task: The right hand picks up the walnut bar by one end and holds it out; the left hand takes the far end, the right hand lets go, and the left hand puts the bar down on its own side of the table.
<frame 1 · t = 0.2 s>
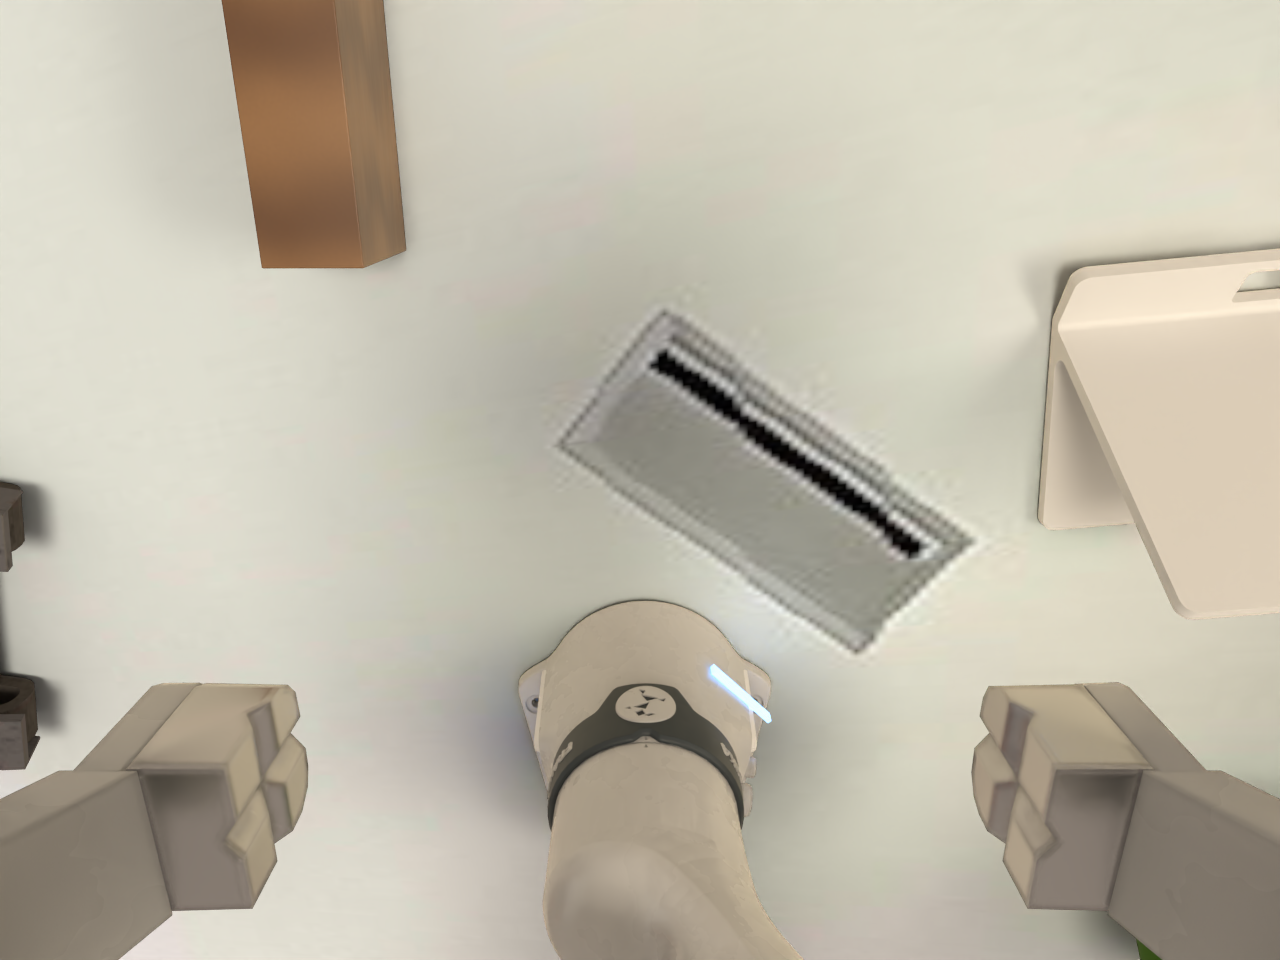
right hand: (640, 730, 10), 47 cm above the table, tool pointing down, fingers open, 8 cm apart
bar: (341, 56, 50), on the table
tablet stand: (1235, 384, 57), on the table
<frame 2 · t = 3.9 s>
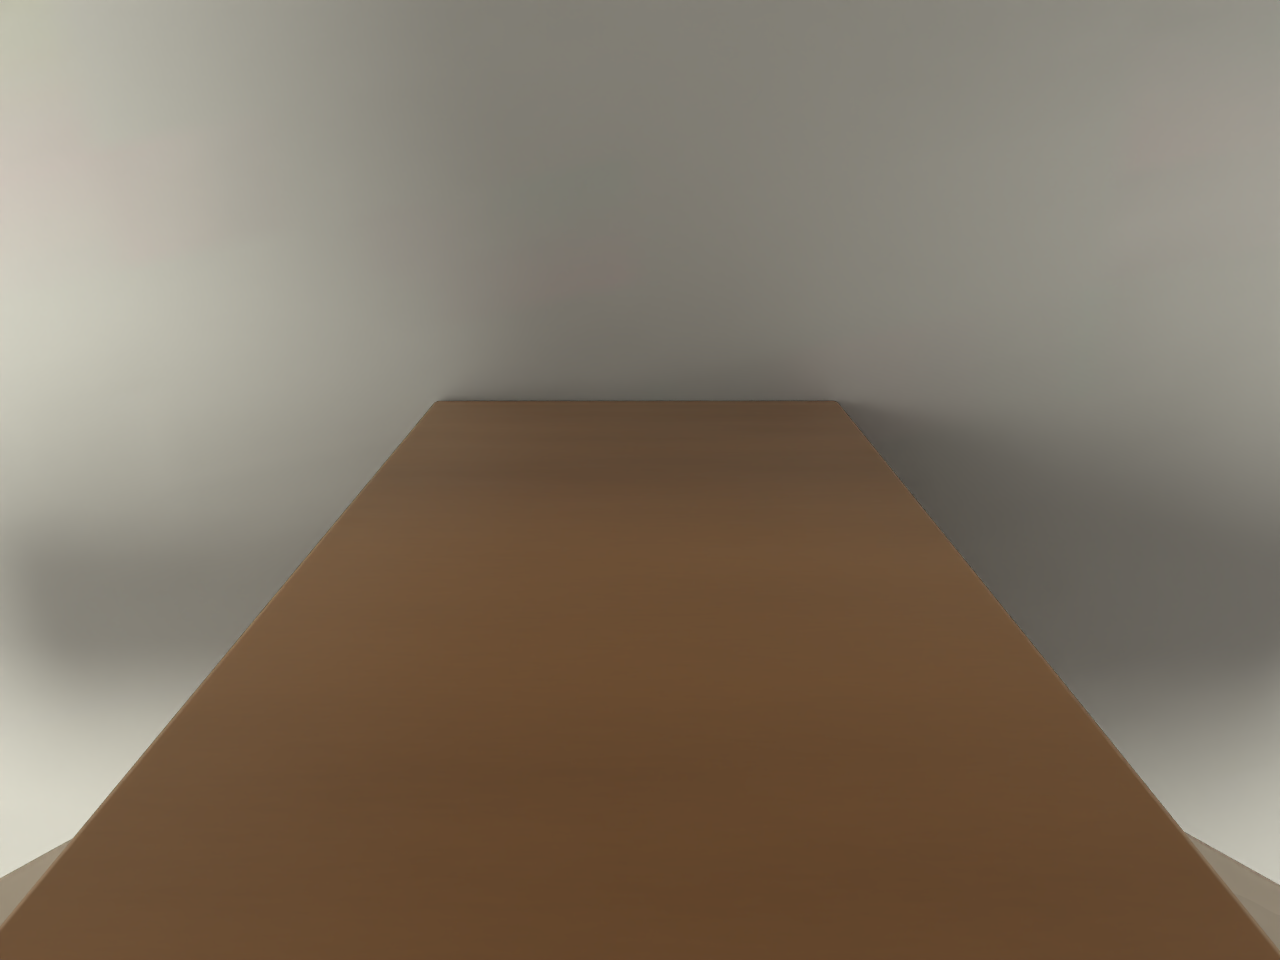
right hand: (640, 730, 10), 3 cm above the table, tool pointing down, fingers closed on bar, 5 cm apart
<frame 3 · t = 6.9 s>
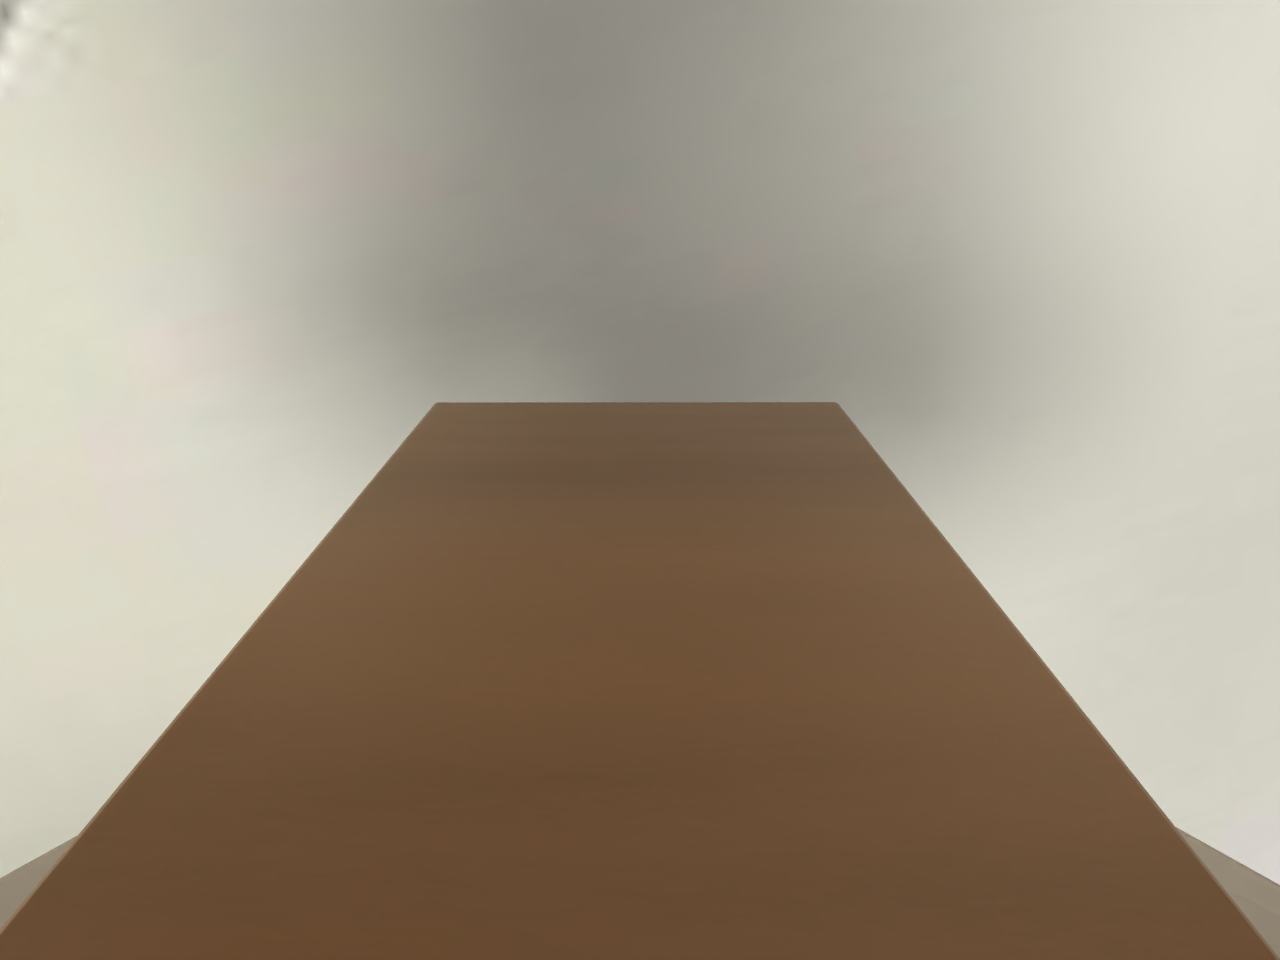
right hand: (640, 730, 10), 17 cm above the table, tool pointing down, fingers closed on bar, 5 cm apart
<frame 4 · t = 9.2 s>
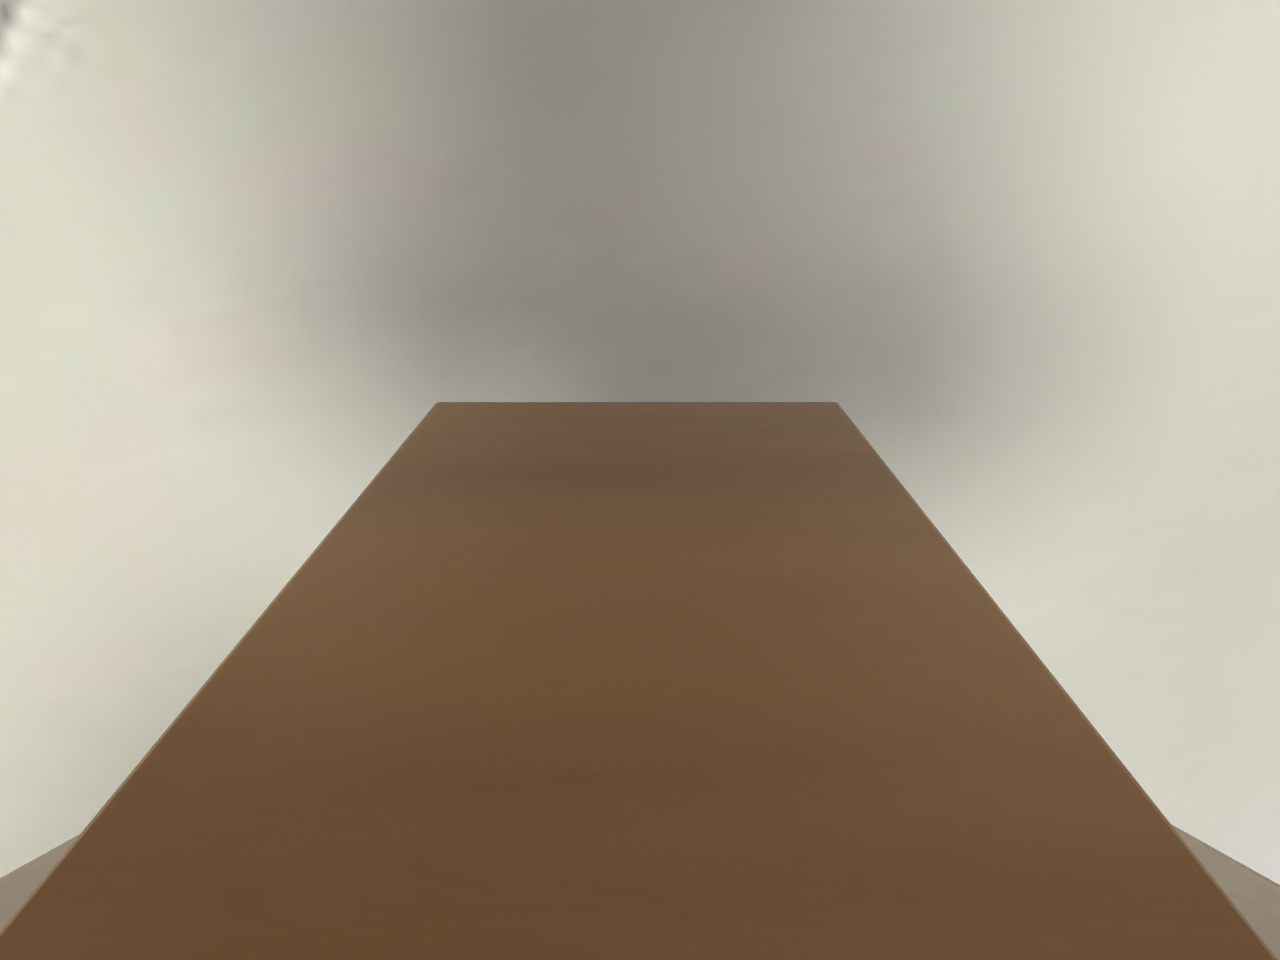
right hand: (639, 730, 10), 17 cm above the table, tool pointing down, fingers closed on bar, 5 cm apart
when the right hand's fingers open (17 cm above the table, at t = 10.2 s): bar moves 1 cm, held by the left hand.
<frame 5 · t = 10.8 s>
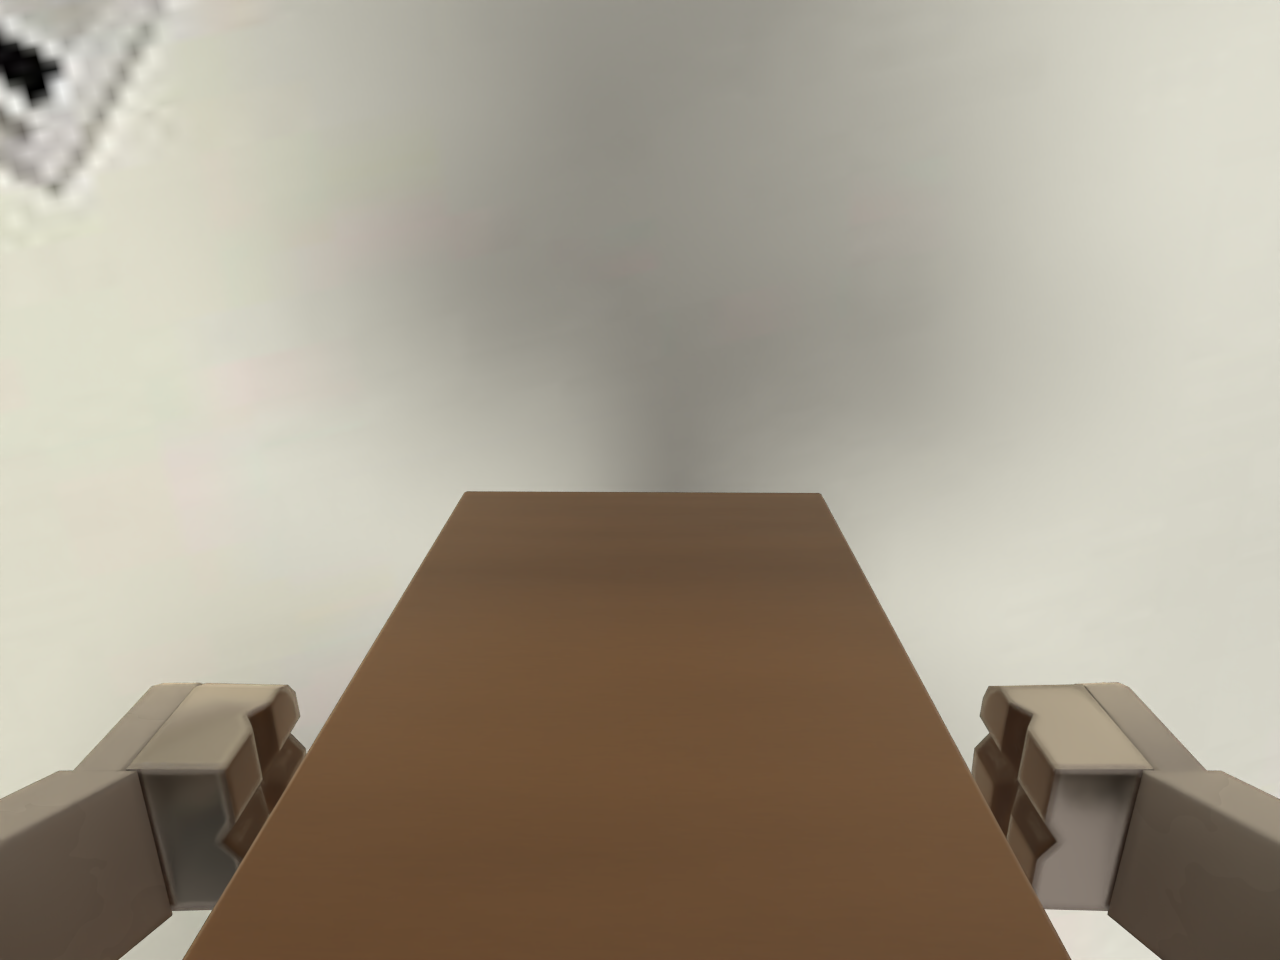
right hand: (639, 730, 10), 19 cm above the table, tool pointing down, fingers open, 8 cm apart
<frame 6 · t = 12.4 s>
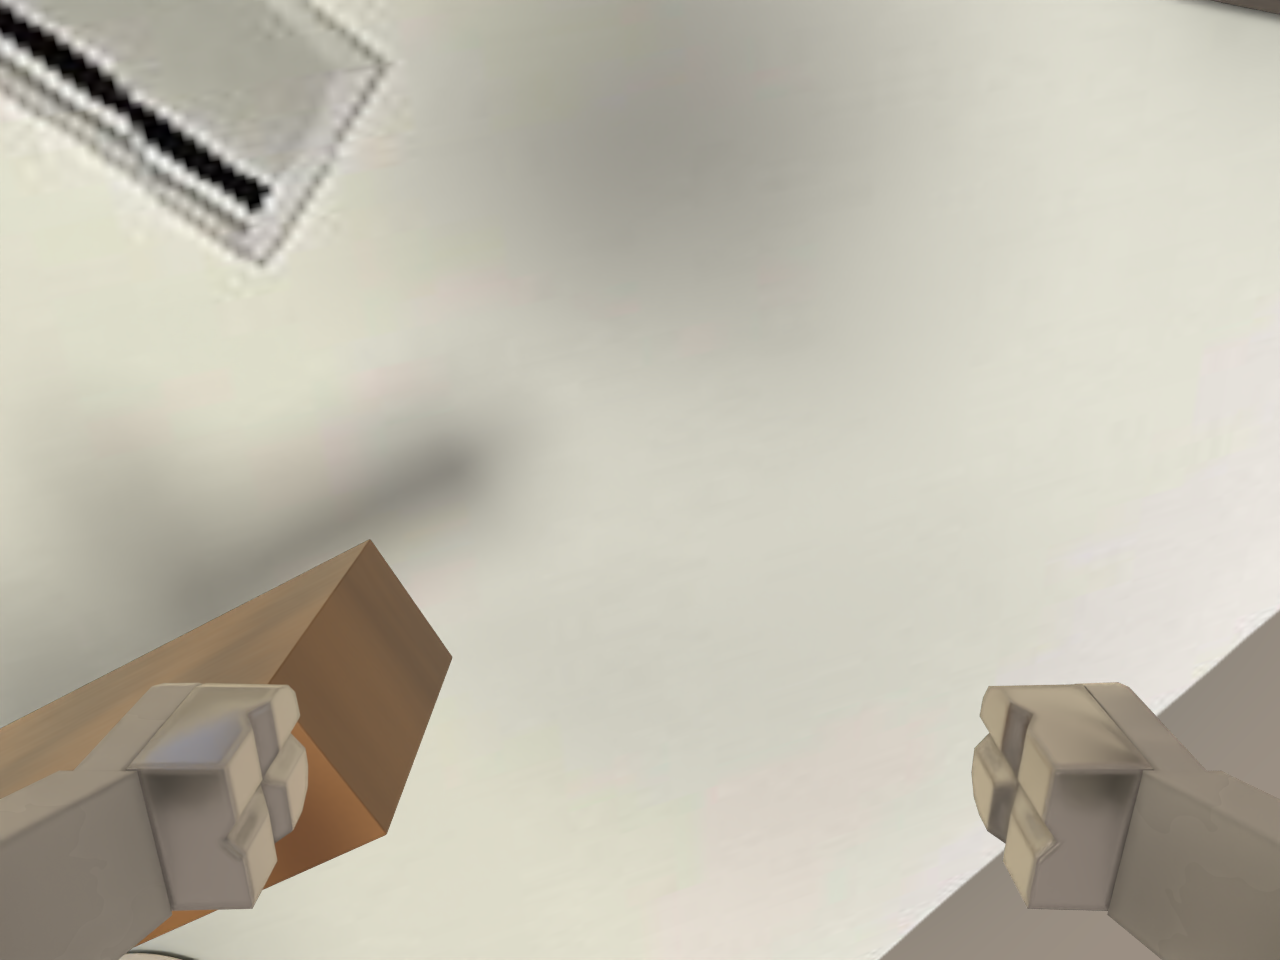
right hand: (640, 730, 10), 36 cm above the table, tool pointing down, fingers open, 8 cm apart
bar: (168, 720, 33), point 17 cm above the table, touching left hand
when the left hand's fingers open (4 cm above the table, at t = 16.1 s): bar drops 1 cm, on the table.
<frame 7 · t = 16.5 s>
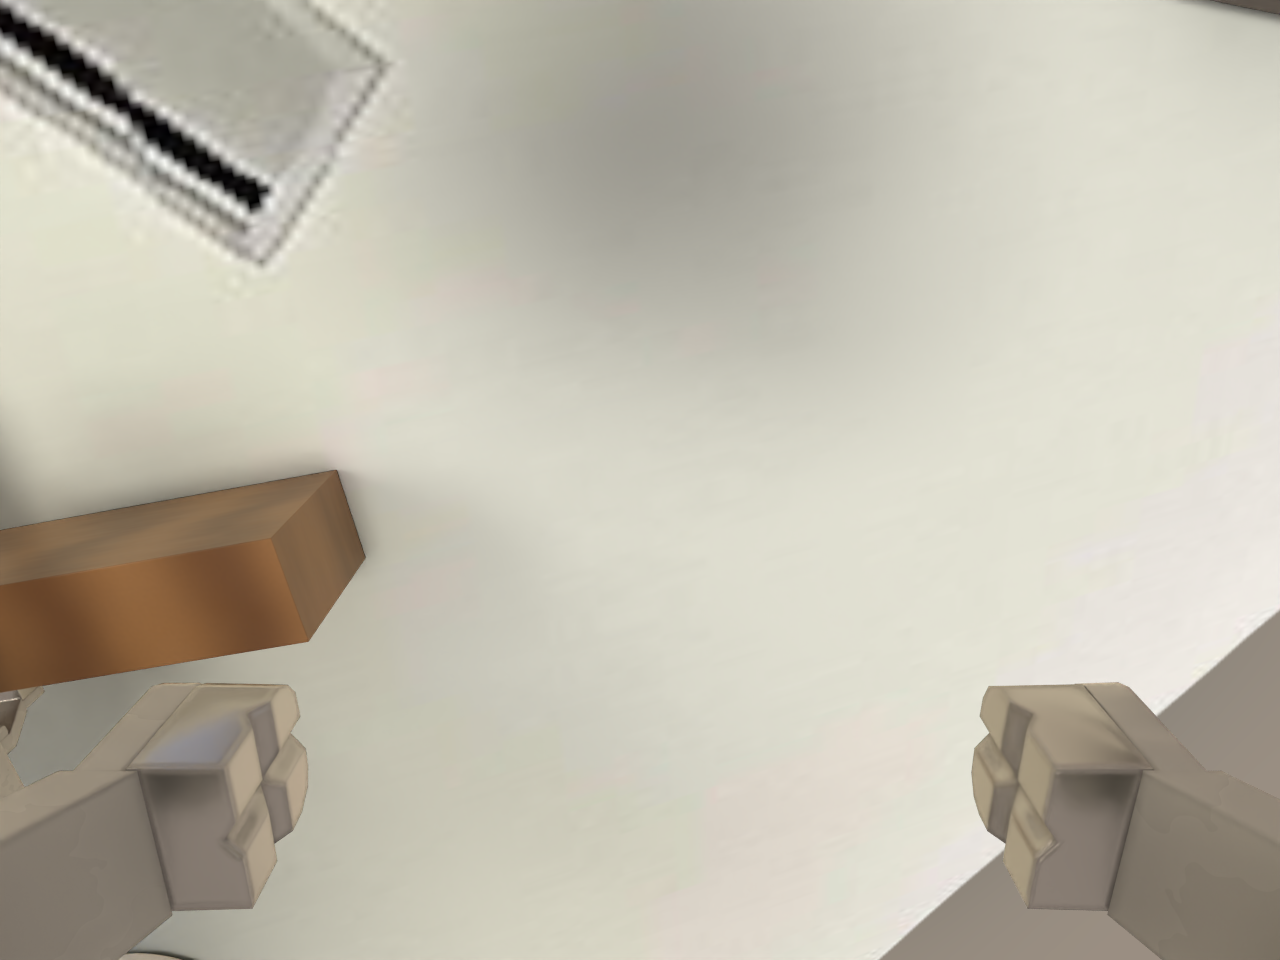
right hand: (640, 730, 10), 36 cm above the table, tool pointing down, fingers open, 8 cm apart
bar: (163, 547, 49), on the table
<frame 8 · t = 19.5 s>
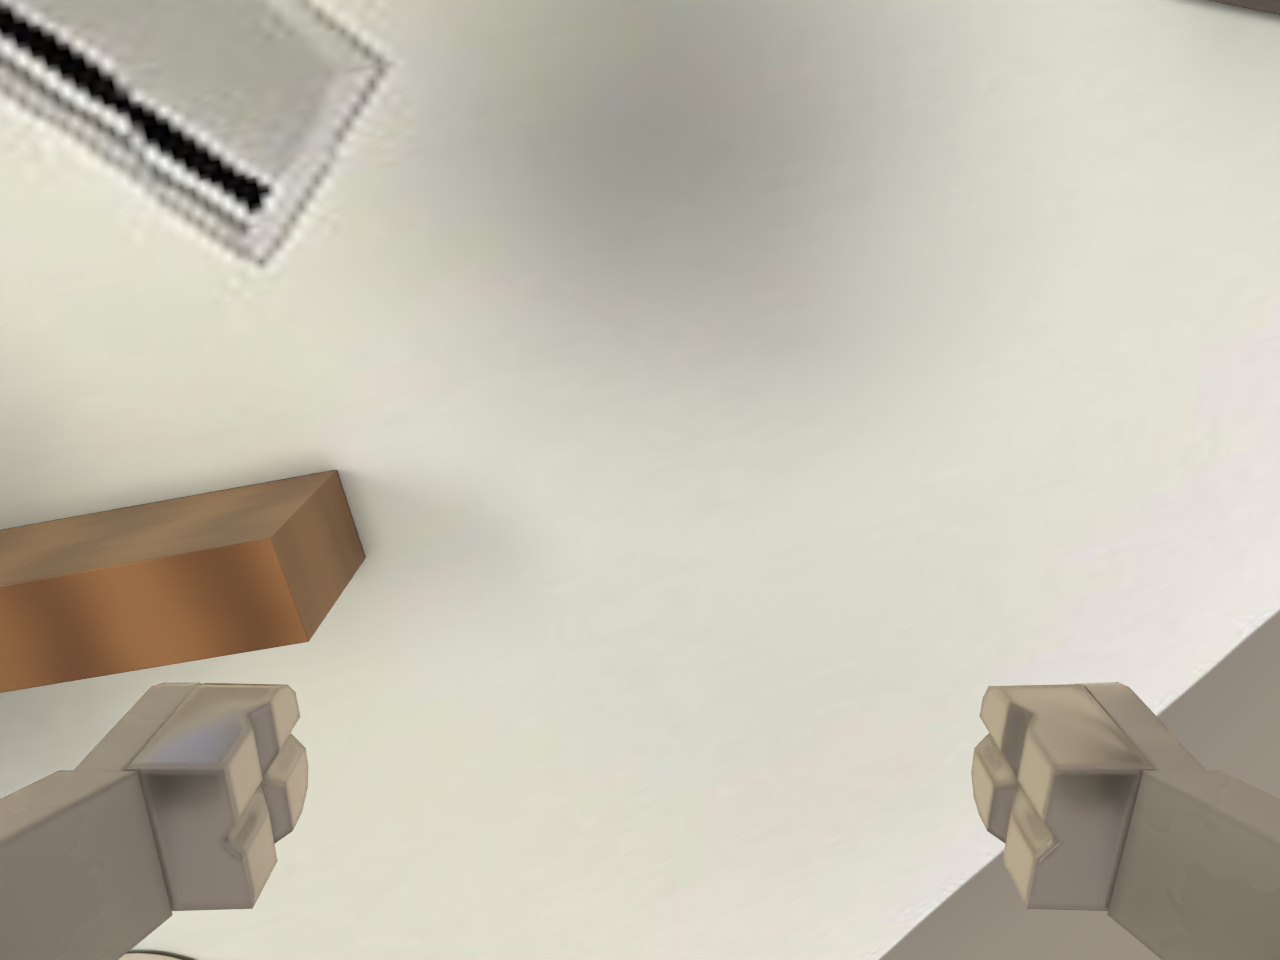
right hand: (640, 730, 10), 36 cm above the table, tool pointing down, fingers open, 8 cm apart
bar: (163, 547, 49), on the table
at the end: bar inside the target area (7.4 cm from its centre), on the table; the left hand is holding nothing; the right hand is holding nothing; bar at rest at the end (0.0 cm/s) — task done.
